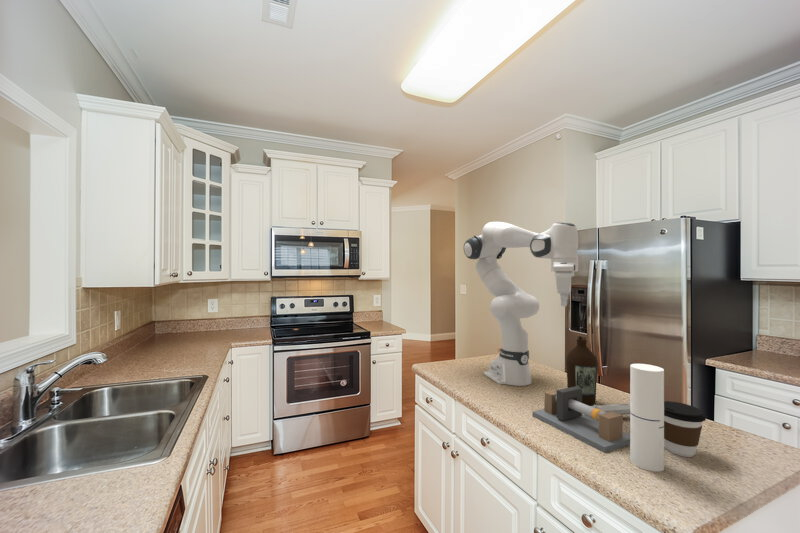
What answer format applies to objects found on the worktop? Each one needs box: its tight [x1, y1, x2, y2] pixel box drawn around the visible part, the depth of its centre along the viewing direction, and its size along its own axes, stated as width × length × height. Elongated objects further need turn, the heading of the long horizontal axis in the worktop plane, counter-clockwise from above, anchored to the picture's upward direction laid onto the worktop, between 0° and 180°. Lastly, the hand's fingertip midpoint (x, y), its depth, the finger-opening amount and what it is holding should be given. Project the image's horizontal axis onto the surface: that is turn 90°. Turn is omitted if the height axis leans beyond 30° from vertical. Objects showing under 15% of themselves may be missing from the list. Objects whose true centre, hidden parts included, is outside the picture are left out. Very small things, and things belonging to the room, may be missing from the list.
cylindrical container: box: [629, 363, 665, 473], centre depth 90 cm, size 7×7×25 cm
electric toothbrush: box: [586, 402, 630, 417], centre depth 117 cm, size 5×7×25 cm
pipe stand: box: [532, 389, 630, 453], centre depth 110 cm, size 26×14×8 cm, turn 25°
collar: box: [556, 386, 582, 421], centre depth 113 cm, size 2×9×9 cm, turn 114°
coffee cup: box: [664, 400, 706, 458], centre depth 96 cm, size 11×11×12 cm
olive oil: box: [565, 334, 598, 406], centre depth 132 cm, size 11×11×25 cm
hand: (564, 305), depth 124 cm, fingers open, 8 cm apart
